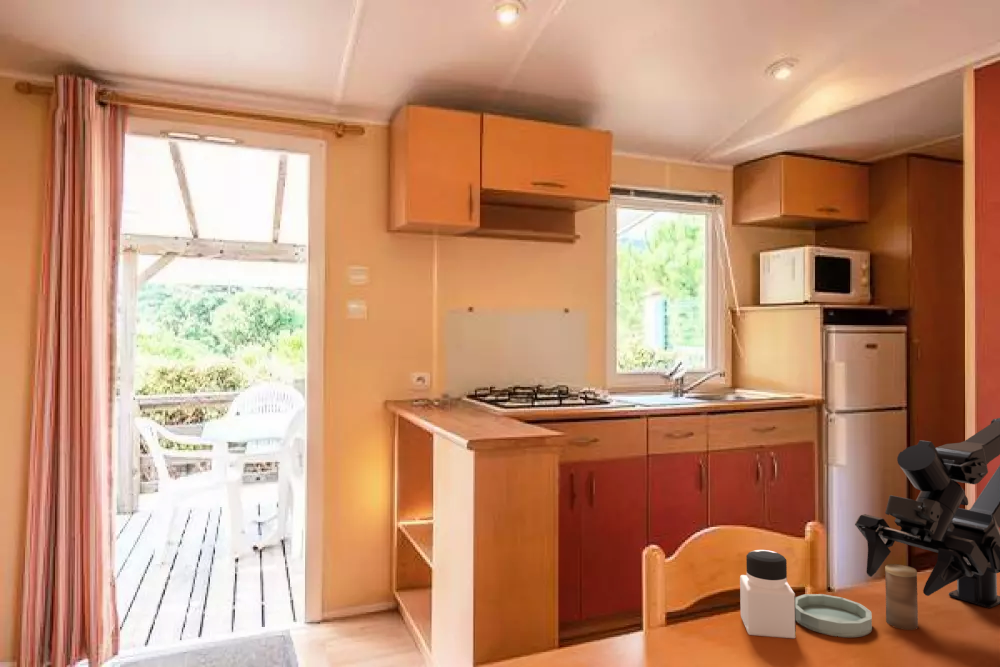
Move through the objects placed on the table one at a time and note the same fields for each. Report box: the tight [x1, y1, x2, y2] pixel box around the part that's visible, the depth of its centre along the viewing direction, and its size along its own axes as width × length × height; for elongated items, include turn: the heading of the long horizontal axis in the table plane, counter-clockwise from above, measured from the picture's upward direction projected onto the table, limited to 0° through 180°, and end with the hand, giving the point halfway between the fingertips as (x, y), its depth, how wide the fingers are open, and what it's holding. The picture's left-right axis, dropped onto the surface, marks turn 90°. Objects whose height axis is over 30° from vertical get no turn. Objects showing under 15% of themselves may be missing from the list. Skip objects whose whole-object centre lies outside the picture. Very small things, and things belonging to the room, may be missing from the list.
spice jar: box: [884, 563, 919, 631], centre depth 104 cm, size 4×4×9 cm
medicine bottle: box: [739, 549, 797, 639], centre depth 103 cm, size 7×7×12 cm
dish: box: [795, 593, 873, 638], centre depth 105 cm, size 12×12×2 cm
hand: (895, 584), depth 103 cm, fingers open, 9 cm apart
